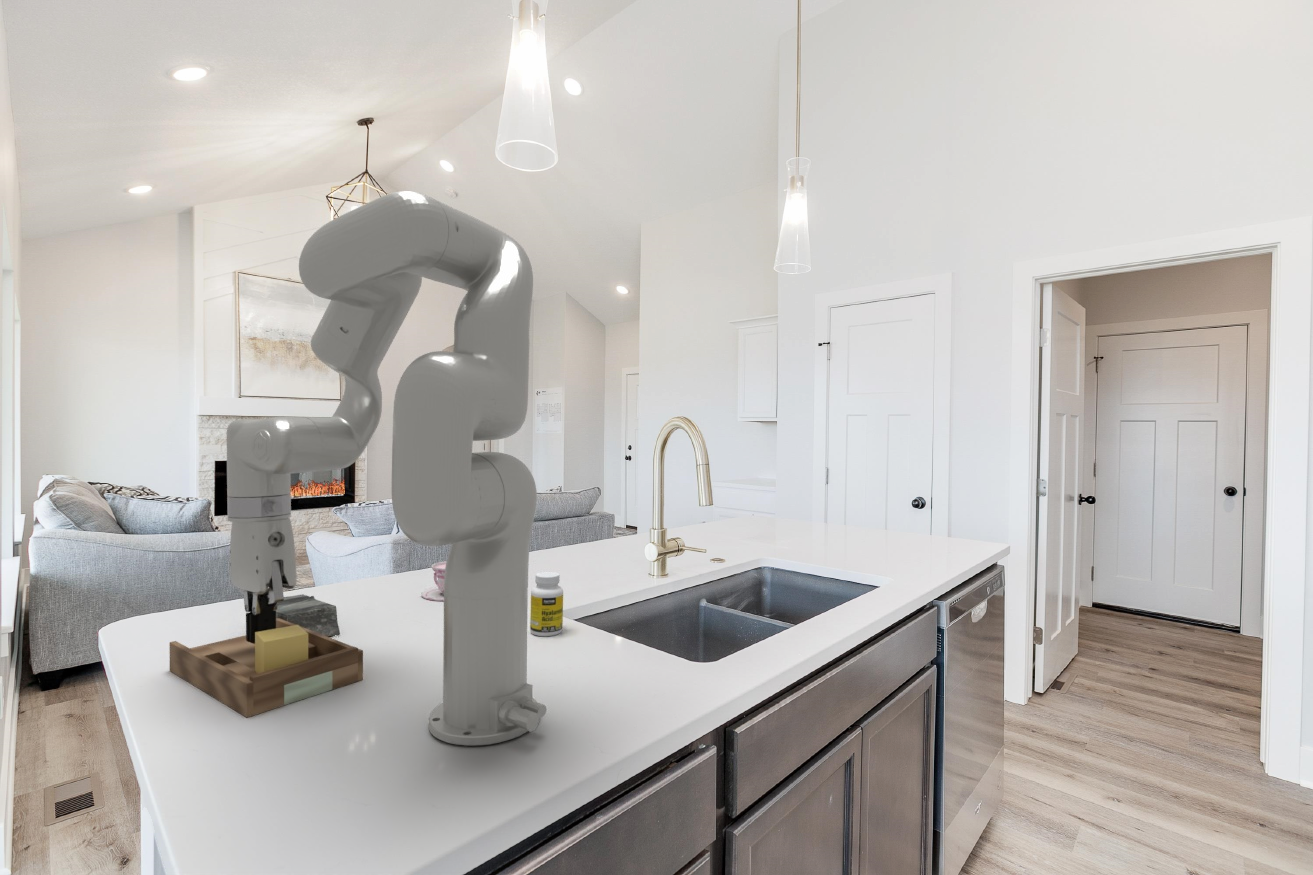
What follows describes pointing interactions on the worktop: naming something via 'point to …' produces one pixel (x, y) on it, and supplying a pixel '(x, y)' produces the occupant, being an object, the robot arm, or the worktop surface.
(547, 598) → the supplement bottle
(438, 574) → the teacup
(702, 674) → the worktop surface
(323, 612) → the stone block
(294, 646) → the block
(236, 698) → the box
